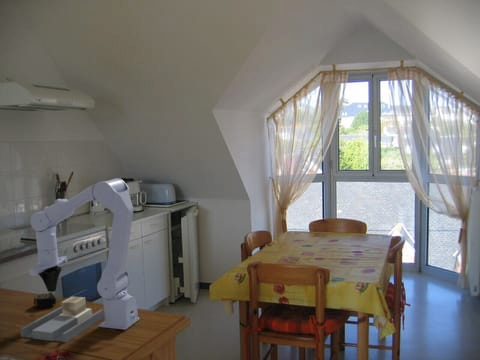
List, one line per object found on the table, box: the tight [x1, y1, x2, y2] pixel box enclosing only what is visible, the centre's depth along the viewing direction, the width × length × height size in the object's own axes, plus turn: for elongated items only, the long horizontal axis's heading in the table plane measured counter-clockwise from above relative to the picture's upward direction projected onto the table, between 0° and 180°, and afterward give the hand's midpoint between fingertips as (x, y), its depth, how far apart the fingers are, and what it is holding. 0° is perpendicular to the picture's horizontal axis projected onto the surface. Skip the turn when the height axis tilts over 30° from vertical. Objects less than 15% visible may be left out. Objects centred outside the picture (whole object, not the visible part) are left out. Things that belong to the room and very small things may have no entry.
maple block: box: [61, 296, 87, 316], centre depth 149 cm, size 5×5×4 cm
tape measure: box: [33, 292, 57, 309], centre depth 163 cm, size 7×7×4 cm
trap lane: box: [19, 305, 105, 343], centre depth 144 cm, size 16×18×2 cm
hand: (51, 291), depth 149 cm, fingers closed
